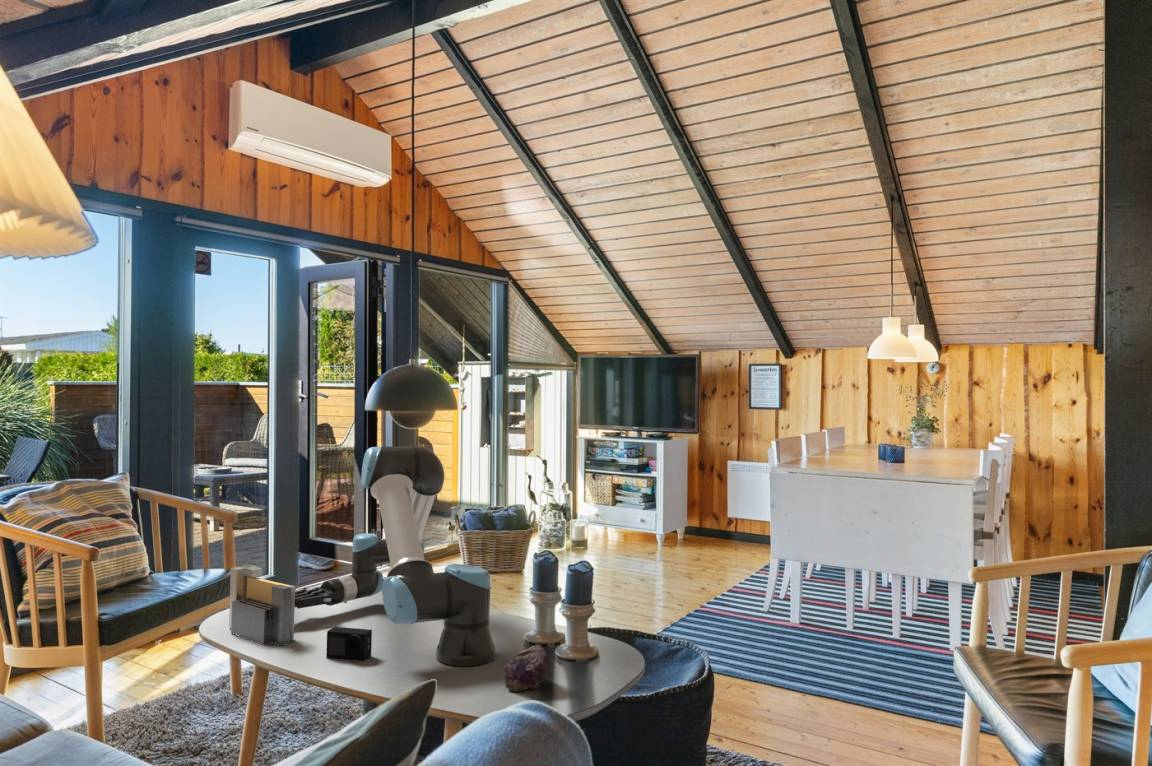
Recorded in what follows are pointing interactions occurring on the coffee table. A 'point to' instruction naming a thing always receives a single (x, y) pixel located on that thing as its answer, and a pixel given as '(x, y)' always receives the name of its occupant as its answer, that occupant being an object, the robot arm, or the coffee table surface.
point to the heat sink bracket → (258, 610)
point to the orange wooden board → (269, 595)
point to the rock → (527, 669)
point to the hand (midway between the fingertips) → (267, 607)
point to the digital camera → (349, 643)
